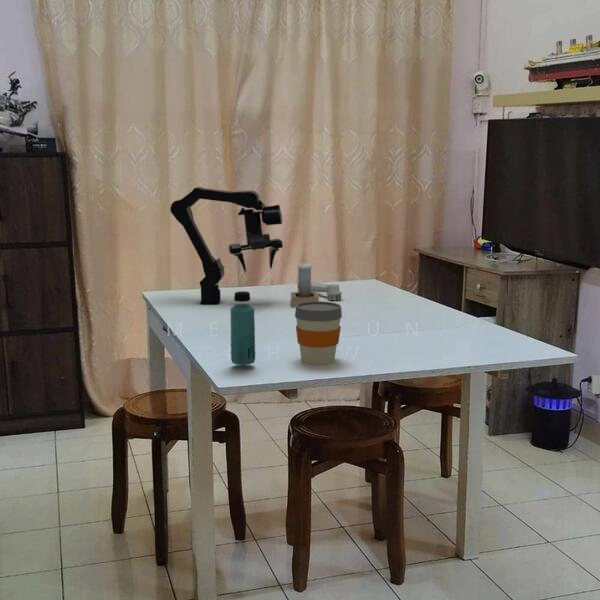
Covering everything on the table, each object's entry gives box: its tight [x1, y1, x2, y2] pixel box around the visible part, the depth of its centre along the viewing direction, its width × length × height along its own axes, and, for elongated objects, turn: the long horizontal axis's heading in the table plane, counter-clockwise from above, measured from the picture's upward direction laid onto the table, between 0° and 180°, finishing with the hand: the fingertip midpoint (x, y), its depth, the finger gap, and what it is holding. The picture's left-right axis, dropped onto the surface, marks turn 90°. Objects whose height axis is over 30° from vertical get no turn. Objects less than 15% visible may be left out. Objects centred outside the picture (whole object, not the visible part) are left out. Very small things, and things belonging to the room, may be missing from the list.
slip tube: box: [296, 262, 313, 297], centre depth 284 cm, size 5×5×14 cm
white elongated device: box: [311, 281, 343, 301], centre depth 302 cm, size 5×7×25 cm
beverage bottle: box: [229, 291, 257, 366], centre depth 207 cm, size 6×7×20 cm
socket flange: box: [289, 291, 320, 308], centre depth 285 cm, size 10×10×4 cm
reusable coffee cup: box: [294, 300, 343, 366], centre depth 214 cm, size 13×13×15 cm
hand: (258, 270), depth 284 cm, fingers open, 9 cm apart
